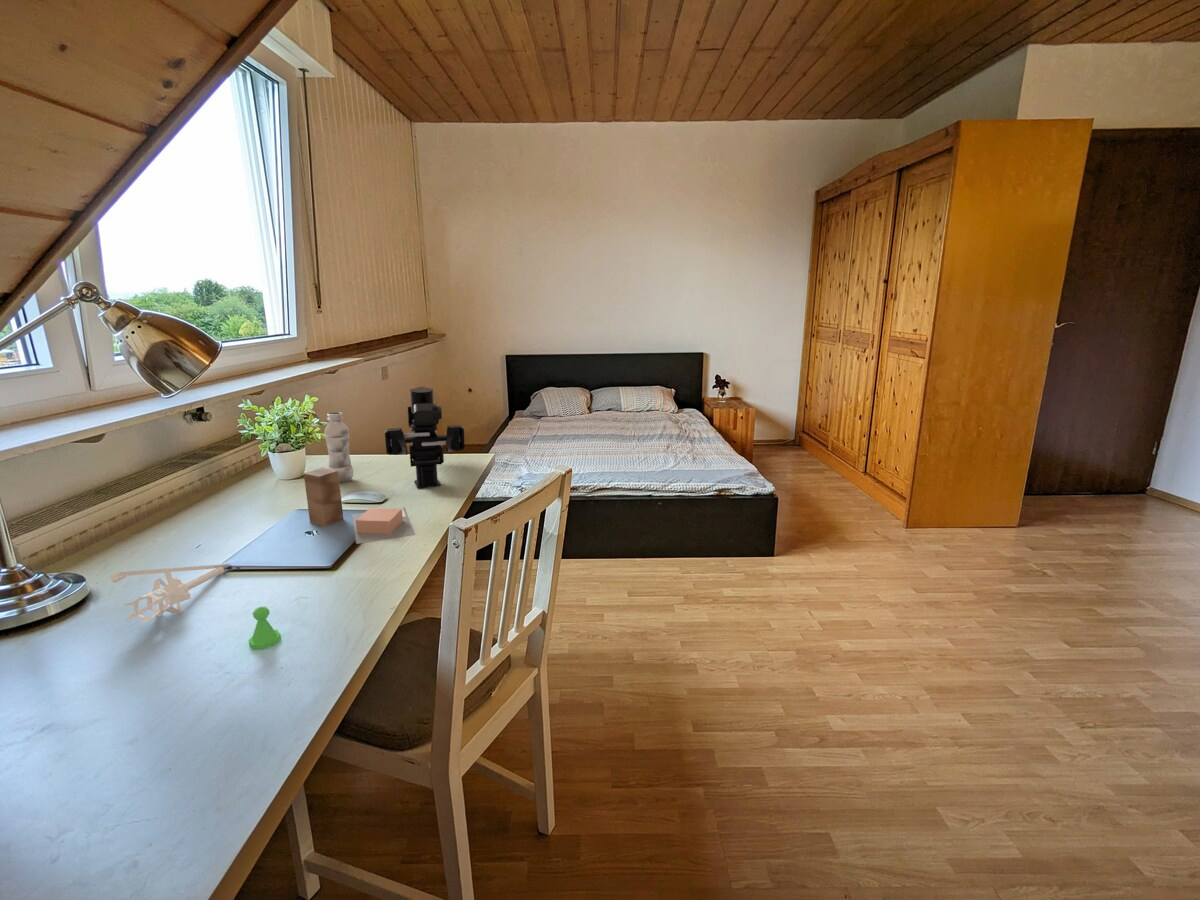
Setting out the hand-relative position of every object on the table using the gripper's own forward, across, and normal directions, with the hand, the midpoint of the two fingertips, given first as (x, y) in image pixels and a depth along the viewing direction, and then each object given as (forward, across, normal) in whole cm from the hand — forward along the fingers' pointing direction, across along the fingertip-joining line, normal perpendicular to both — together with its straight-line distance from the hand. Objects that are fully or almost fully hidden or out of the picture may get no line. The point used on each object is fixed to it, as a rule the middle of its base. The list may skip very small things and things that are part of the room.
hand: (427, 451), depth 131 cm
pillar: (0, -23, +17) cm, 29 cm away
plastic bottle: (-33, -23, +20) cm, 45 cm away
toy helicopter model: (+30, -42, +14) cm, 53 cm away
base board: (+6, -11, +16) cm, 20 cm away
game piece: (+47, -27, +12) cm, 55 cm away
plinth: (+7, -11, +15) cm, 20 cm away
